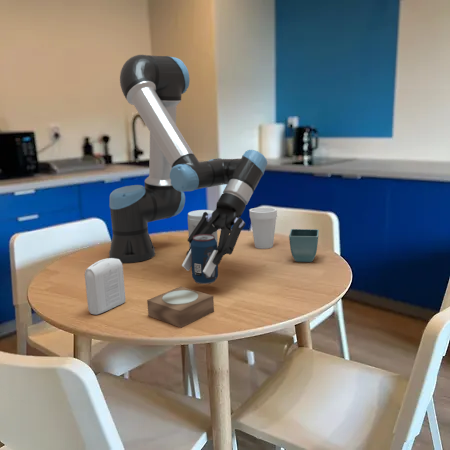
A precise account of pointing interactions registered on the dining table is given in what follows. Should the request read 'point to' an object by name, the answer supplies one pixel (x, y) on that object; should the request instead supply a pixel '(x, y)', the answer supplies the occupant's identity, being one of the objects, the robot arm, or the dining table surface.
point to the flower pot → (303, 244)
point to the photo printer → (104, 285)
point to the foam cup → (263, 226)
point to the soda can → (203, 257)
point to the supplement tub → (195, 218)
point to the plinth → (180, 306)
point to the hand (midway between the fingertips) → (195, 271)
